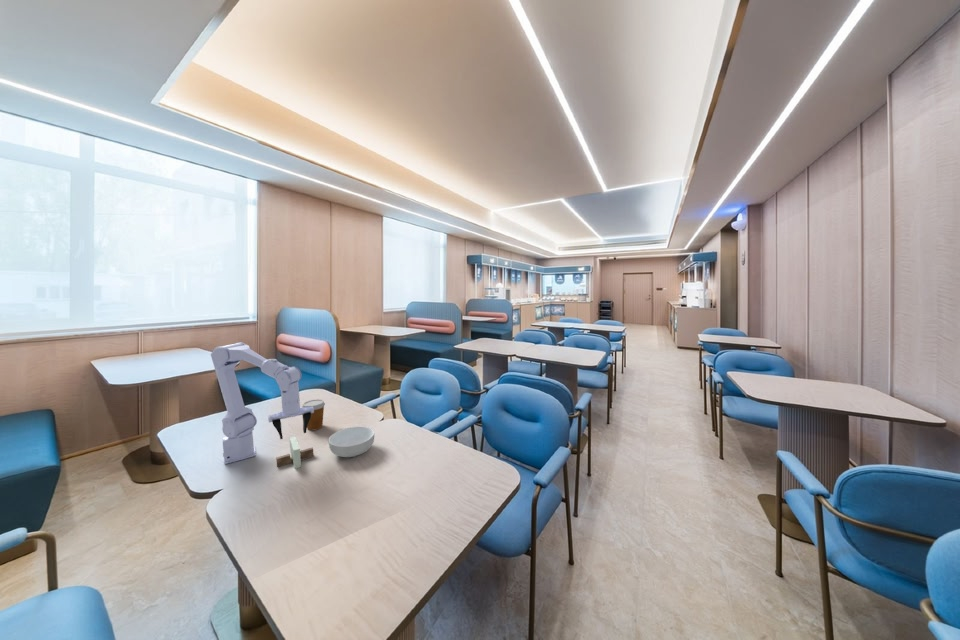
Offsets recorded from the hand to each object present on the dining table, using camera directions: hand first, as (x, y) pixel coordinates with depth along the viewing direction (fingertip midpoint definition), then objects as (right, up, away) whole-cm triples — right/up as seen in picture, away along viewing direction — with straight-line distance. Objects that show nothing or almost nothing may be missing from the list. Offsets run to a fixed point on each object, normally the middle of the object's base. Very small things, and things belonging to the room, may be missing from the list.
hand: (293, 435), depth 118 cm
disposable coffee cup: (-7, -7, +29) cm, 30 cm away
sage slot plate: (+1, -10, +1) cm, 10 cm away
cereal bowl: (+20, -9, +6) cm, 23 cm away
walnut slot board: (+1, -10, +1) cm, 10 cm away
